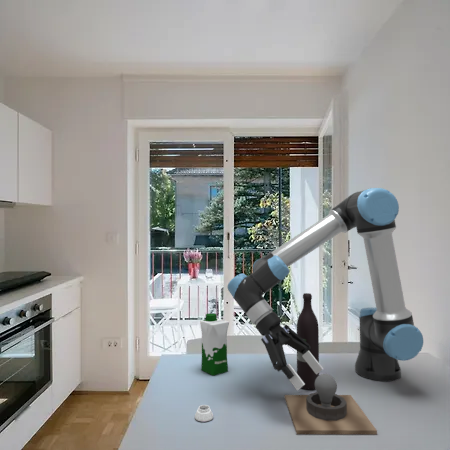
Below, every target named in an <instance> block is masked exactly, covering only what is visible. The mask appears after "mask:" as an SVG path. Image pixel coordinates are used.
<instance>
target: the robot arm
mask: <svg viewBox="0 0 450 450" xmlns="http://www.w3.org/2000/svg"><path fill="white" fill-rule="evenodd" d="M399 205H400V204H399V201H398V199H397V198H396V196H395V194H394V193H392V192H390V190H388V189H385V188H383V187H370V188H368V189H364V190H361V191H356V192H354V193H352V194H350V195H349V196H347V197H346V198H345V199H343V200H342V201H341V202H340V203H338V204H337V205H336V206H334V207H333V208H330V210H329V212H328V214H327V215H326V216H324V217H323V218H321V219H320V220H318V221H317V222H315V223H314V224H312V225H310V226H309V227H307V228H306V229H305V230H303V231H301V232H300V233H299V234H297V235H295V236H294V237H293V238H291V239H289V240H287V241H286V242H285V243H283V244H282V245H280V246H278V247H277V248H276V249H274V250H273V251H271V252H270V253H268V254H267V255H264V257H261V258H258V259H256V260H255V261H254V263H253V265H252V273H251V274H249V275H246V274H245V273H239V274H237V275H235V276H234V277H233V278H231V280H229V282H228V284H227V286H226V287H227V289H228V290H227V291H228V292H229V294H230V296H231V297H232V299H233V300H235V302H236V304H237V305H238V306H239V307H240V308H241V310H242V311H243V312H244V314H245V315H246V317H248V320H250V322H251V323H252V324H253V325H254V326H255V328H256V330H257V331H258V333H259V334H260V336H262V338H261V340H260V341H261V342H262V343H263V345H264V347H265V349H266V351H267V354H268V357H269V359H270V362H271V364H272V367H273V369H274V370H275V371H277V372H280V371H281V372H282V373H283V374H284V375H285V376H286V378H287V379H288V380H289V382H290V383H291V384H292V385H293V387H294V388H295V389H296V391H299V390H300V389H302V388H301V387H302V386H304V385H305V383H304V382H303V381H302V380H301V378H300V377H299V376H298V374H297V371H296V370H295V369H294V368H293V366H292V365H291V364H290V363H287V359H286V355H285V352H284V351H285V350H284V347H283V346H289V347H291V348H292V349H293V350H295V351H296V352H297V351H298V352H300V353H302V354H304V355H303V356H302V357H303V358H304V359H305V361H306V362H307V363H308V364H309V366H310V367H311V368H312V370H313V371H314V372H315V373H316V374H318V373H319V374H320V372H321V371H324V367H323V366H322V365H321V363H320V361H319V362H318V361H317V360H316V359H315V357H314V356H313V355H312V354H311V352H310V351H309V349H311V347H310V345H309V344H308V343H307V342H306V341H305V340H303V339H302V338H301V337H300V336H298V335H297V332H296V331H293V330H292V329H291V327H290V326H289V325H288V324H285V325H284V326H283V327H282V325H281V323H282V319H281V317H279V315H278V314H277V313H276V312H275V311H273V310H274V309H273V308H272V307H271V305H270V304H269V303H268V301H266V299H265V297H263V295H265V294H266V293H267V292H269V291H270V290H271V289H272V288H274V287H275V286H276V285H277V284H279V283H280V282H281V281H283V280H284V279H285V278H286V277H287V276H288V275H289V274H290V268H289V267H290V266H292V265H293V264H295V263H296V262H297V261H300V259H302V258H304V257H305V256H307V255H308V254H311V252H313V251H315V250H316V249H318V248H319V247H321V246H322V245H324V244H325V243H327V242H329V241H330V240H331V239H333V238H334V237H336V236H337V235H339V234H341V233H348V232H349V231H351V230H352V229H355V228H356V232H357V235H359V237H362V238H363V243H364V248H365V254H366V259H367V265H368V270H369V275H370V280H371V286H372V293H373V296H374V297H373V298H374V304H375V307H363V308H361V309H360V311H359V317H358V319H359V352H358V355H357V357H356V359H355V360H356V361H355V363H354V371H355V373H356V374H357V375H359V376H360V377H363V378H365V379H369V380H374V381H379V382H391V381H397V380H399V379H401V377H402V370H401V366H400V363H399V361H403V362H404V361H409V360H412V359H414V358H416V357H417V356H418V354H419V353H420V352H421V351H422V349H423V346H424V337H423V336H424V335H423V333H422V332H421V331H420V329H419V328H418V327H417V326H416V325H415V324H414V323H415V322H414V318H413V314H412V312H411V311H410V310H409V309H407V307H406V303H405V298H404V291H403V287H402V282H401V281H402V280H401V276H400V271H399V265H398V261H397V255H396V250H395V244H394V239H393V232H394V231H395V230H396V229H397V225H396V219H397V216H398V215H399V211H400V206H399Z"/></svg>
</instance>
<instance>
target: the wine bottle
mask: <svg viewBox="0 0 450 450" xmlns="http://www.w3.org/2000/svg"><path fill="white" fill-rule="evenodd" d="M302 299H303V306H302V309H301V312H300V314H299V316H298V317H297V321H296V334H297V335H298V336H300V337H301V338H302V339H303V340H305V341H306V342H307V343H308V344H309V345H310V347H311V349H309V351H310V352H311V354H312V355H313V356H314V357H315V359H316V360H317V361H318V362H319V363H320V352H319V351H320V350H319V349H320V341H319V340H320V339H319V337H320V336H319V335H320V334H319V331H320V330H319V322H318V319H317V316H316V314H315V313H314V310H313V306H312V299H313V295H312V293H310V292H309V293H308V292H305V293H303V294H302ZM303 355H304V354H302V353H300V352H298V351H297V350H296V373H297V374H298V376H299V377H300V378H301V380H302V381H303V382H304V383H305V385H304V386H302V387H301V388H300V389H303V390H308V391H309V390H310V391H311V390H316V389H315V380H316V378H317V377H318V376H319V375H320V372H319V373H318V374H316V373H315V372H314V371H313V370H312V368H311V367H310V366H309V364H308V363H307V362H306V361H305V359H304V358H303V357H302V356H303Z"/></svg>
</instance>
